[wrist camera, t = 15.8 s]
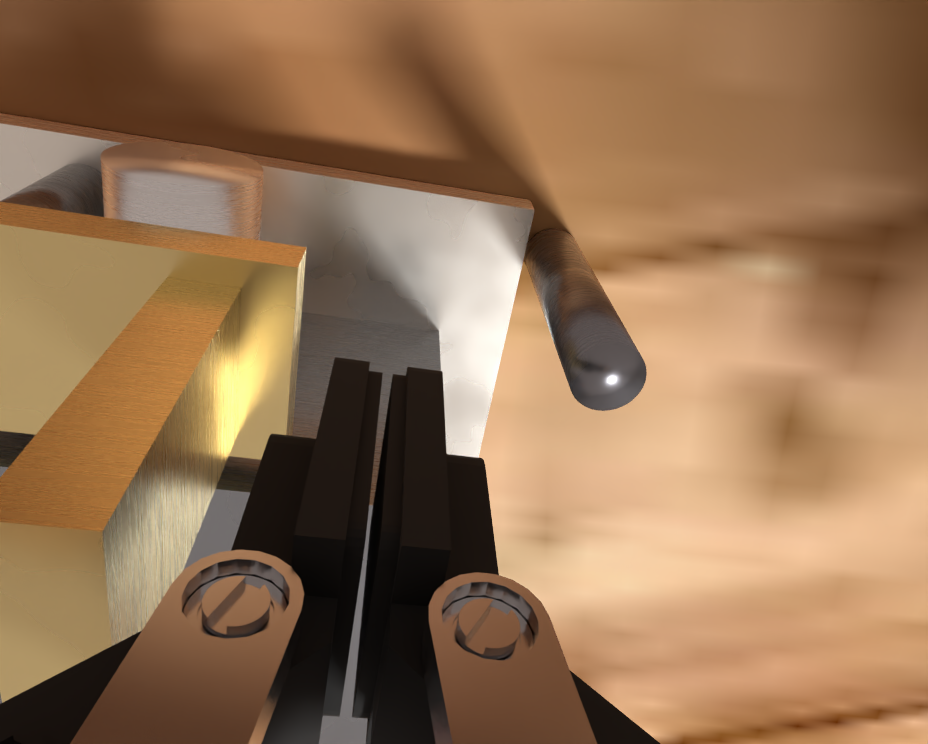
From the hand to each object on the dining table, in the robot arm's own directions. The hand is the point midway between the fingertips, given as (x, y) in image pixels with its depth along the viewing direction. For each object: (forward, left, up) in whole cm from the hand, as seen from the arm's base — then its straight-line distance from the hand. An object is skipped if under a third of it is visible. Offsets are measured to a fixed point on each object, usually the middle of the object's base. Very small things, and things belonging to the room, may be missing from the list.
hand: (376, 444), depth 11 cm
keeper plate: (+4, +4, -3) cm, 6 cm away
